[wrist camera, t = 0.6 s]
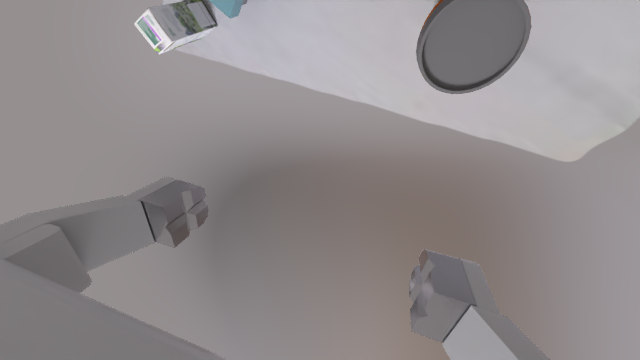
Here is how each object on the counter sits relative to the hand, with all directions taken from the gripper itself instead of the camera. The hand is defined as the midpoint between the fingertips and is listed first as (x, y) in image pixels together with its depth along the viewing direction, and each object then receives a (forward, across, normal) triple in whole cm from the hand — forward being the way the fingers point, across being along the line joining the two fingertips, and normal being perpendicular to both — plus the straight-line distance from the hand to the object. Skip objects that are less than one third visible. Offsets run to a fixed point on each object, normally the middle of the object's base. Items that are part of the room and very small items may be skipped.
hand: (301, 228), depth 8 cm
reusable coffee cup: (+46, -10, -12) cm, 49 cm away
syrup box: (+47, +42, -9) cm, 64 cm away
